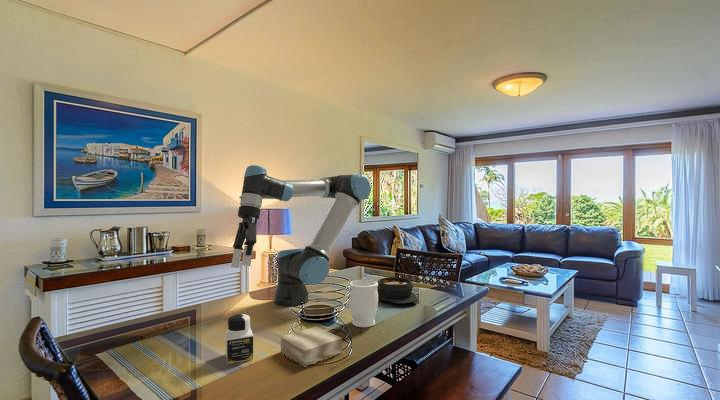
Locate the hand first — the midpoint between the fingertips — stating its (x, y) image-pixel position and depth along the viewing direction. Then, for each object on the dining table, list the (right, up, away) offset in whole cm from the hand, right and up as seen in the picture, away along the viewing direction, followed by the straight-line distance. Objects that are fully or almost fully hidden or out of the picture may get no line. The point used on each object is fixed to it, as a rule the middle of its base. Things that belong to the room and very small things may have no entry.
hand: (240, 266), depth 123 cm
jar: (+43, -23, +8) cm, 49 cm away
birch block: (+27, -23, -16) cm, 39 cm away
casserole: (+57, -22, +38) cm, 72 cm away
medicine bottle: (+6, -23, -19) cm, 30 cm away
